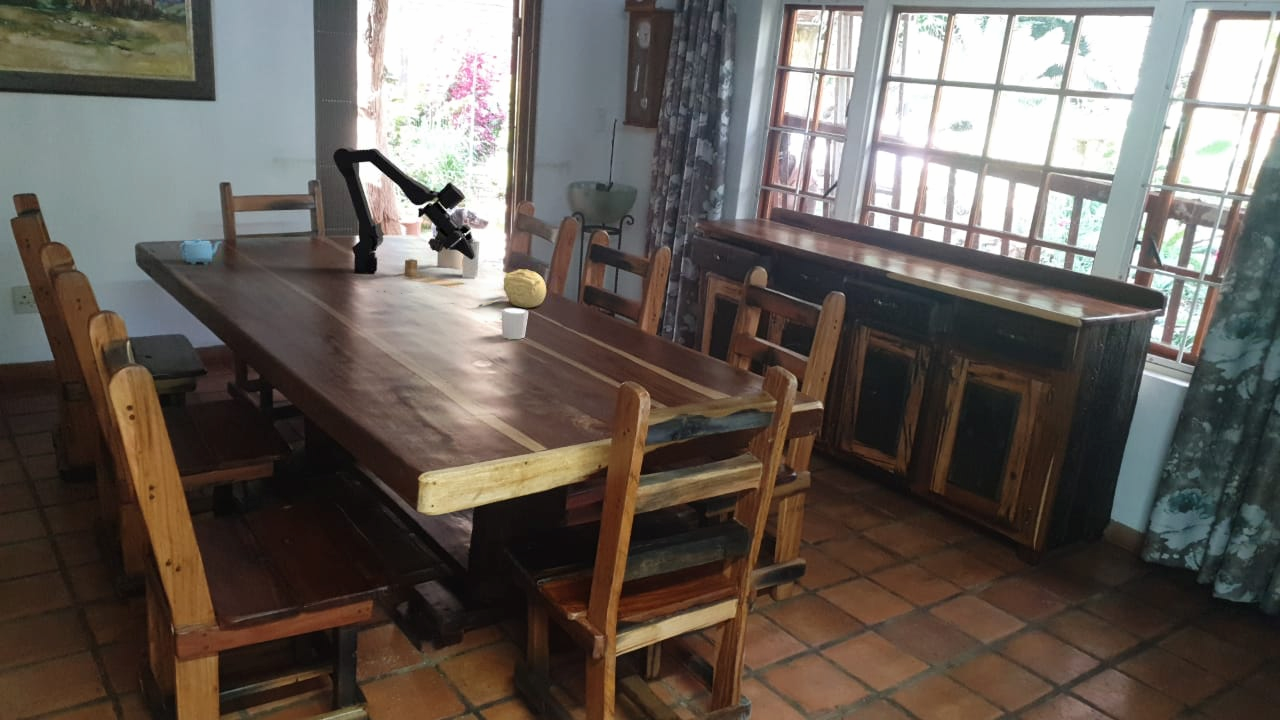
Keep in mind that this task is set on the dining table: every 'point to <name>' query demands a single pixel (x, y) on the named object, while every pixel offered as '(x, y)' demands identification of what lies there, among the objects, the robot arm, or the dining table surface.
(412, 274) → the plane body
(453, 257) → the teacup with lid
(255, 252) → the dining table surface
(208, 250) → the teapot
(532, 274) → the yellow lumpy ball
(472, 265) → the tall grey block
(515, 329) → the shot glass
